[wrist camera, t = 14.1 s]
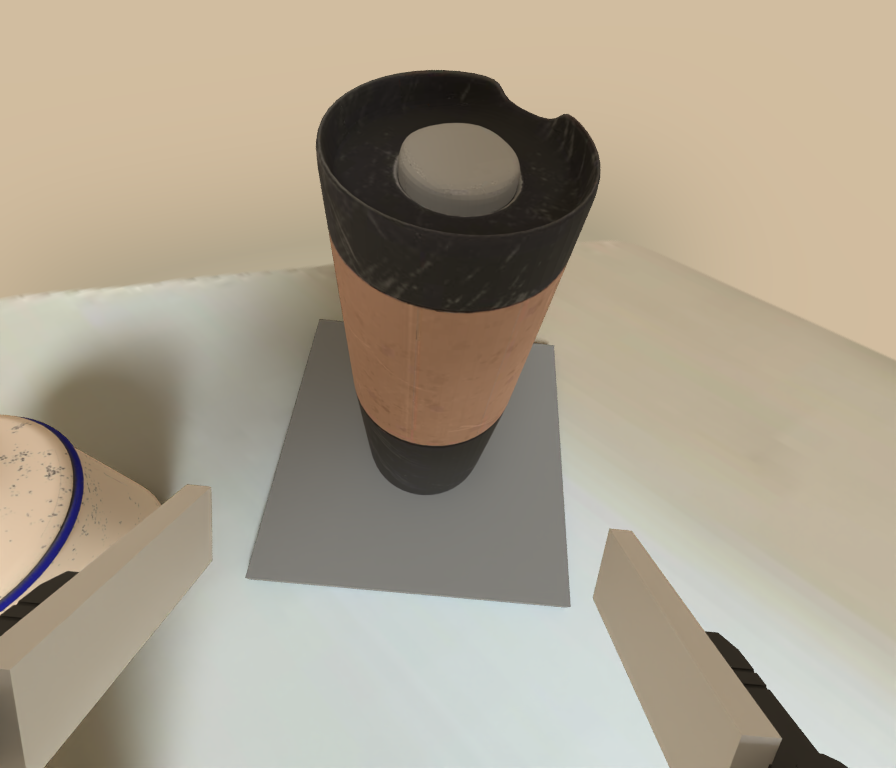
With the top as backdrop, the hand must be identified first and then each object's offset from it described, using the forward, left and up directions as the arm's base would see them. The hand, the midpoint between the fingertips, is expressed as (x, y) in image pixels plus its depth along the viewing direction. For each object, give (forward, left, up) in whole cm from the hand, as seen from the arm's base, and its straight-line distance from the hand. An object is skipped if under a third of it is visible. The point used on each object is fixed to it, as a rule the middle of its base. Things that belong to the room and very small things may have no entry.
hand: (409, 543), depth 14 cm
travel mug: (0, -8, -12) cm, 14 cm away
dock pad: (0, -8, -12) cm, 15 cm away
